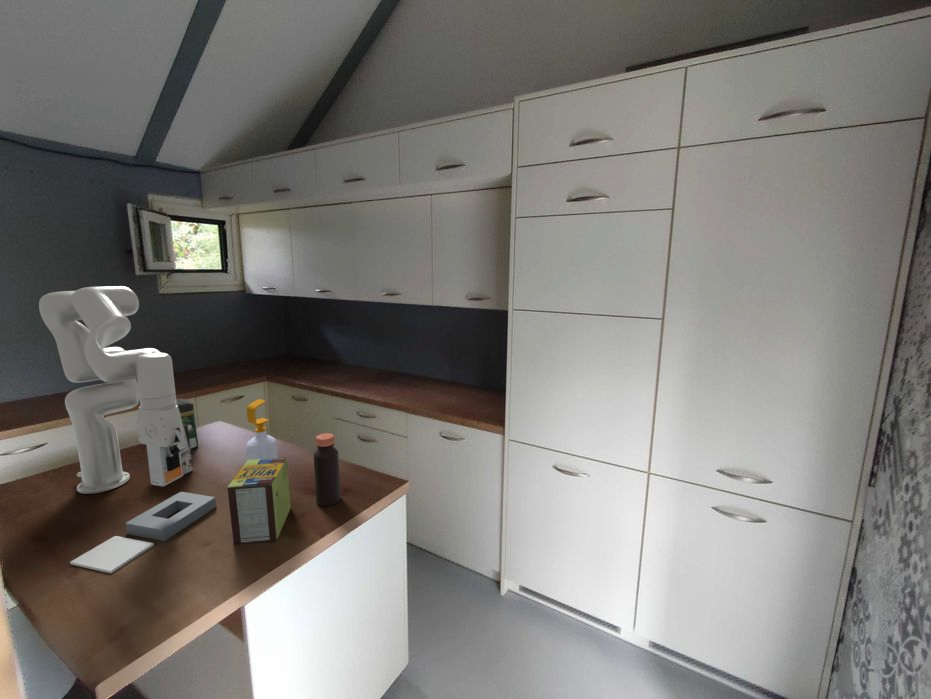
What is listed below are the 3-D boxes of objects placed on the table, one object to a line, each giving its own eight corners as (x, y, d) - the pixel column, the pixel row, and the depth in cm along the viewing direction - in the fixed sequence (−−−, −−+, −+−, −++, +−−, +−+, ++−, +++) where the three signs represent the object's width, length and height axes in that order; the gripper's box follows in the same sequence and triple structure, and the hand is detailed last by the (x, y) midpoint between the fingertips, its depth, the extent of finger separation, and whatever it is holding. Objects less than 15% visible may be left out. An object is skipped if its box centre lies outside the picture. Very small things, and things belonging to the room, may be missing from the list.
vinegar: (312, 500, 123) (308, 436, 120) (333, 492, 128) (329, 430, 125) (323, 509, 119) (319, 443, 115) (345, 500, 124) (342, 436, 120)
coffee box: (194, 470, 142) (188, 424, 139) (175, 478, 136) (169, 431, 133) (174, 465, 145) (168, 421, 142) (155, 474, 139) (149, 427, 136)
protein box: (291, 507, 120) (287, 456, 117) (277, 541, 105) (272, 483, 102) (252, 510, 118) (247, 459, 115) (231, 545, 103) (226, 487, 100)
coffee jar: (169, 446, 160) (163, 399, 157) (193, 440, 166) (188, 395, 162) (176, 454, 153) (170, 405, 150) (200, 448, 159) (195, 400, 156)
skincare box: (164, 487, 108) (158, 443, 106) (150, 485, 109) (144, 441, 107) (184, 476, 114) (179, 434, 112) (171, 474, 115) (166, 432, 113)
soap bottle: (284, 469, 143) (279, 399, 138) (258, 480, 135) (252, 407, 131) (268, 462, 147) (262, 395, 143) (243, 473, 140) (236, 402, 135)
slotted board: (126, 533, 107) (125, 523, 107) (182, 501, 123) (180, 491, 122) (164, 541, 104) (163, 530, 104) (216, 506, 120) (215, 497, 119)
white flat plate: (70, 564, 96) (70, 561, 96) (115, 537, 106) (115, 535, 105) (111, 573, 93) (110, 571, 93) (153, 545, 103) (153, 543, 103)
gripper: (117, 402, 106) (126, 469, 109) (171, 409, 102) (179, 478, 106) (146, 394, 113) (154, 457, 117) (197, 400, 109) (204, 465, 113)
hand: (166, 466), depth 111 cm, fingers closed on skincare box, 4 cm apart
